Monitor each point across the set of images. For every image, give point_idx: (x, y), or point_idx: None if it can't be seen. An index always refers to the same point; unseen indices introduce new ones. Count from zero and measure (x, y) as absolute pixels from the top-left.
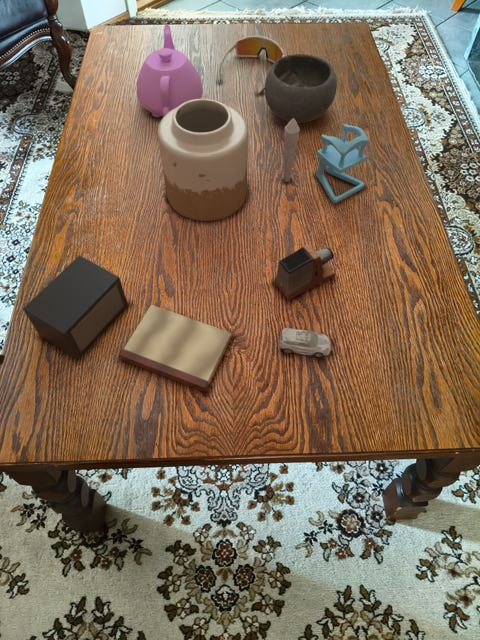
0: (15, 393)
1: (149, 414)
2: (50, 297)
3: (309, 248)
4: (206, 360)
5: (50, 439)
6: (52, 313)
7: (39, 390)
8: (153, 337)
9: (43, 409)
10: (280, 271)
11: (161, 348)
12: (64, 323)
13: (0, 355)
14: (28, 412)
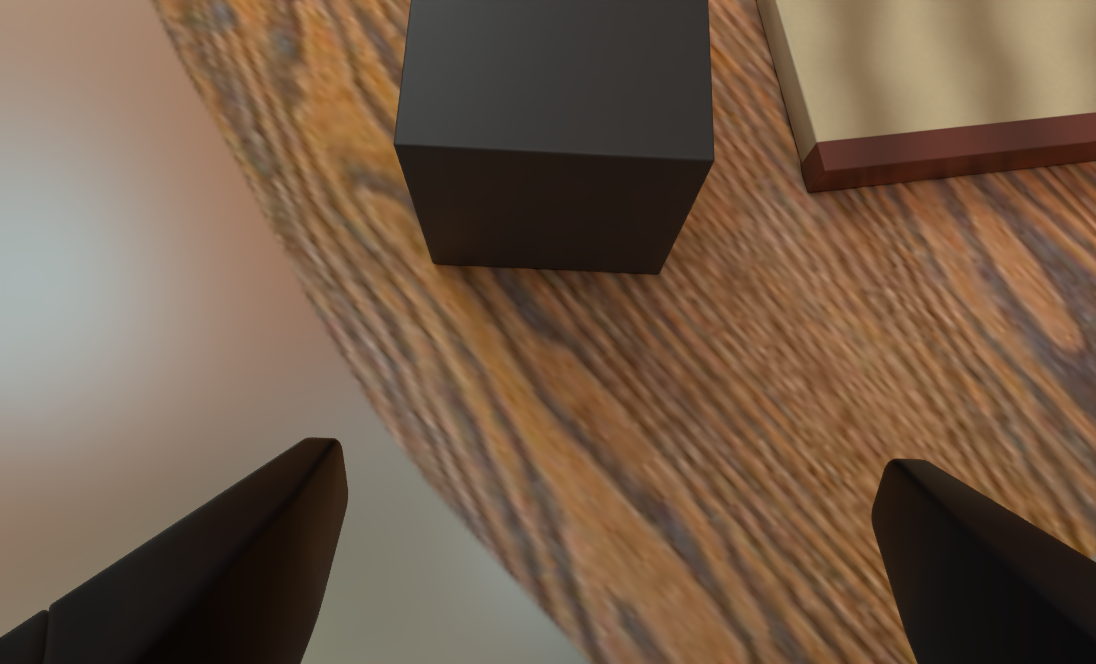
0: (539, 538)
1: (1073, 324)
2: (482, 28)
3: None
4: None
5: (837, 630)
6: (567, 94)
7: (622, 469)
8: (876, 51)
9: (704, 532)
10: None
11: (939, 74)
12: (669, 111)
13: (941, 481)
14: (658, 580)
